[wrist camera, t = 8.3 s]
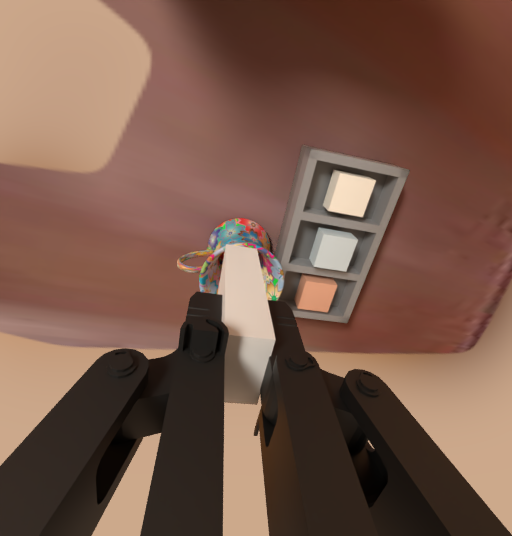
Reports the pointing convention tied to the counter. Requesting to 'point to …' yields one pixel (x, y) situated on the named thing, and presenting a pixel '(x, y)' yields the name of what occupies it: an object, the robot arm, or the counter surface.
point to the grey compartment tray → (334, 226)
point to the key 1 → (315, 292)
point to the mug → (238, 235)
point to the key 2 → (348, 193)
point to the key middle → (332, 249)
